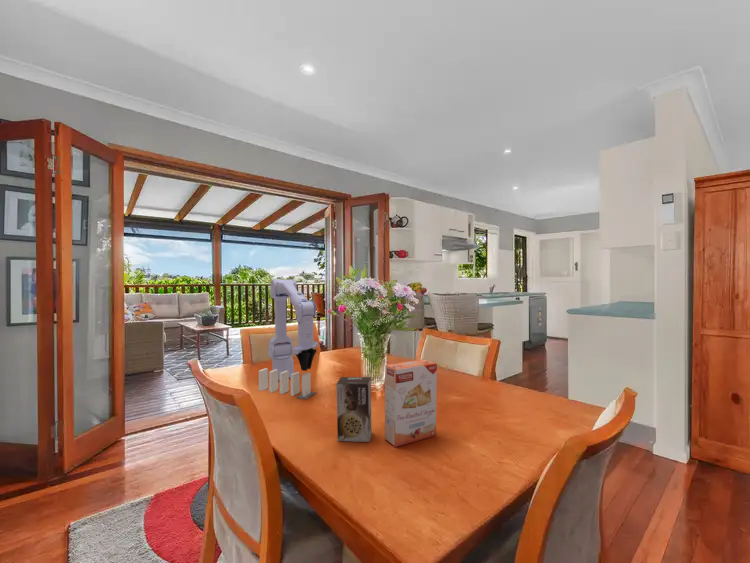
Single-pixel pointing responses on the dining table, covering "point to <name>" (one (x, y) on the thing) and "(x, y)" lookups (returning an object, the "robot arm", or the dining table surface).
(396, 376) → the cracker box
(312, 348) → the robot arm
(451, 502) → the dining table surface
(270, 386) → the domino
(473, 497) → the dining table surface
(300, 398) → the plate
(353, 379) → the dark brown upright box
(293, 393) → the domino
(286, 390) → the domino
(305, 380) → the domino
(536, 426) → the dining table surface
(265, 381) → the domino
